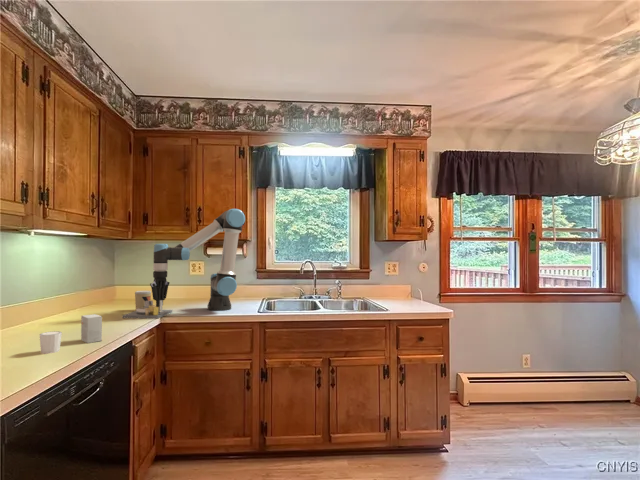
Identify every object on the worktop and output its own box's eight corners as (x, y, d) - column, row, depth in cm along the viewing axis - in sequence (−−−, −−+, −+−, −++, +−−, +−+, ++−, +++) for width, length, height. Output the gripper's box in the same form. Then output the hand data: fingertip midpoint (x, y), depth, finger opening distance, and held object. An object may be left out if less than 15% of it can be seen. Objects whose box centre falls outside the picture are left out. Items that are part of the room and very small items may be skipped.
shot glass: (38, 355, 137) (39, 336, 137) (39, 350, 142) (39, 332, 142) (61, 352, 141) (62, 333, 141) (61, 348, 146) (61, 330, 146)
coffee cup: (144, 312, 229) (144, 292, 229) (131, 311, 231) (131, 291, 231) (154, 309, 238) (154, 290, 238) (141, 309, 240) (141, 290, 240)
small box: (101, 341, 158) (102, 316, 158) (86, 343, 154) (87, 317, 154) (95, 337, 163) (95, 313, 163) (80, 340, 159) (81, 315, 159)
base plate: (172, 312, 229) (172, 303, 229) (157, 318, 209) (158, 308, 209) (140, 311, 229) (140, 303, 229) (122, 318, 209) (122, 308, 209)
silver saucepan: (133, 311, 220) (133, 300, 220) (156, 309, 228) (156, 298, 228) (143, 316, 205) (143, 304, 205) (167, 313, 213) (167, 302, 214)
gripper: (163, 269, 222) (162, 309, 221) (146, 270, 209) (145, 313, 209) (173, 270, 219) (172, 310, 219) (156, 271, 207) (155, 314, 206)
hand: (159, 311), depth 214 cm, fingers closed
